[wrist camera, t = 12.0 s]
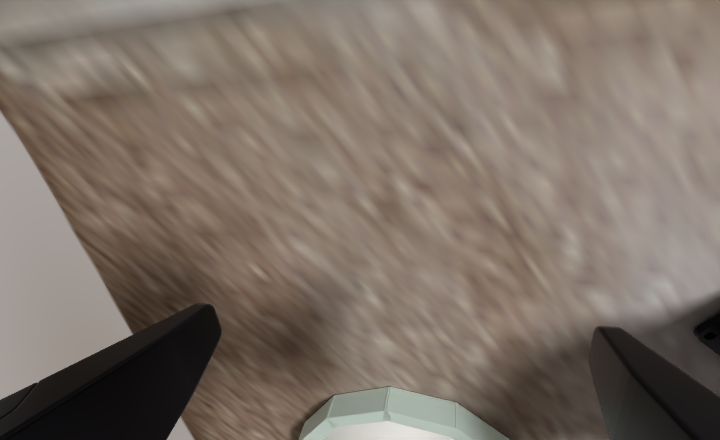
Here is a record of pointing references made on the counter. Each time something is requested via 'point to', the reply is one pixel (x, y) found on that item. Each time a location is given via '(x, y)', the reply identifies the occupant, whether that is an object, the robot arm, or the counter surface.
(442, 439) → the plate
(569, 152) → the counter surface
